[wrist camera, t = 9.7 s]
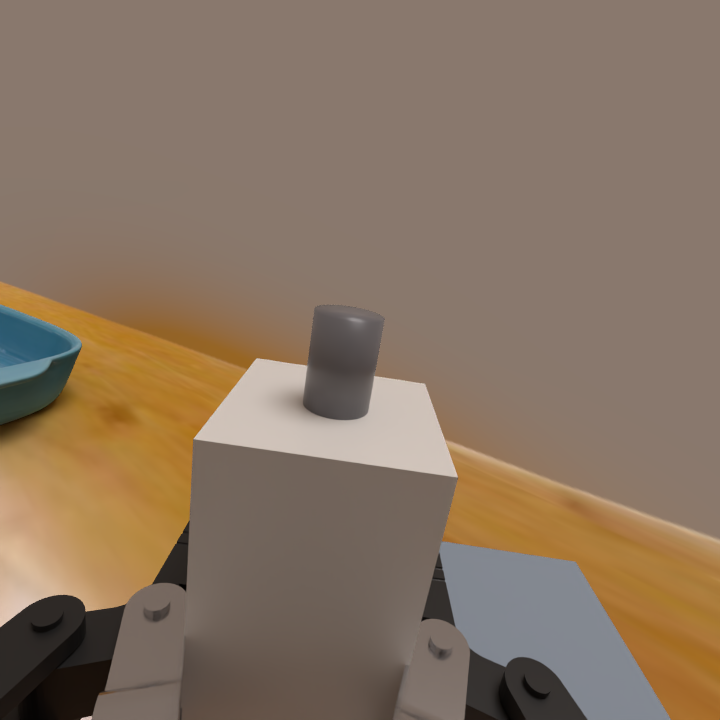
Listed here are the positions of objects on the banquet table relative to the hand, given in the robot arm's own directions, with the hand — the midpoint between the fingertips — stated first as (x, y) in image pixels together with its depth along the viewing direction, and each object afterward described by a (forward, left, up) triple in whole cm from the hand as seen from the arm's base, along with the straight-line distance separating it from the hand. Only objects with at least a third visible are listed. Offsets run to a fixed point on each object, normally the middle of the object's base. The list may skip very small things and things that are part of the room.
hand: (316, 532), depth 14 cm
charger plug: (-3, 0, -7) cm, 8 cm away
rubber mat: (+10, -14, -13) cm, 22 cm away
